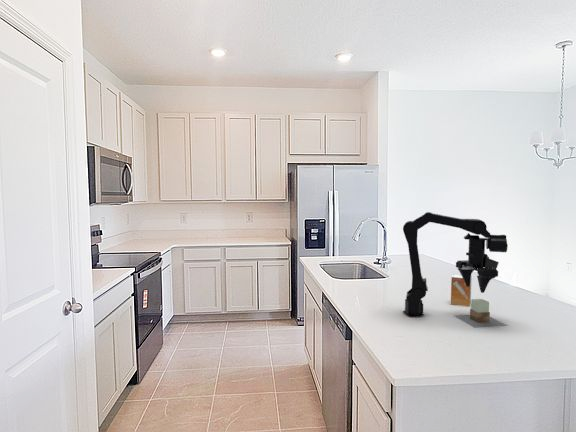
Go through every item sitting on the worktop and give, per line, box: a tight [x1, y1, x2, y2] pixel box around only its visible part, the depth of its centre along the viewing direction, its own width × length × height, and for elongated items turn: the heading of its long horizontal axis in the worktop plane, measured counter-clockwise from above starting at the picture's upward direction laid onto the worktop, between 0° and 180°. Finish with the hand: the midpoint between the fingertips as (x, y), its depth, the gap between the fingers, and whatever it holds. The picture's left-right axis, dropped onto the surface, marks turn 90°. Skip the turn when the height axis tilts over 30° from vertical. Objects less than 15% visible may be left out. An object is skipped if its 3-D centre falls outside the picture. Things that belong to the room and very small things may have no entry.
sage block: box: [470, 298, 490, 313], centre depth 147 cm, size 4×4×4 cm
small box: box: [450, 274, 473, 307], centre depth 170 cm, size 8×6×13 cm
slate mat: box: [453, 314, 509, 329], centre depth 148 cm, size 14×14×1 cm
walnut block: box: [469, 308, 491, 323], centre depth 148 cm, size 5×5×4 cm
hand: (475, 289), depth 148 cm, fingers open, 9 cm apart
